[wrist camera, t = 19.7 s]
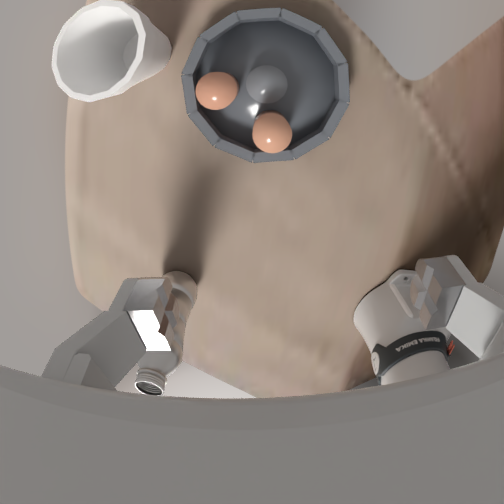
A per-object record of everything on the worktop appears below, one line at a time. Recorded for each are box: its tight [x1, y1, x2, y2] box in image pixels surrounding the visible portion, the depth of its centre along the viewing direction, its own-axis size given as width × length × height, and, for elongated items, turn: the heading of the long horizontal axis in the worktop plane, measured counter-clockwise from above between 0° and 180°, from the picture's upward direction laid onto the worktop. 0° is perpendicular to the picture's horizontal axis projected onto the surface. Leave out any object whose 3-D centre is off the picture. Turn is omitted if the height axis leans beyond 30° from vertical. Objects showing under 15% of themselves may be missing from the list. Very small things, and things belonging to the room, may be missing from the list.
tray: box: [181, 8, 350, 163], centre depth 29 cm, size 18×18×3 cm
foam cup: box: [52, 0, 172, 102], centre depth 23 cm, size 10×9×13 cm
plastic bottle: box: [135, 271, 197, 396], centre depth 39 cm, size 6×7×20 cm
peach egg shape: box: [196, 72, 239, 110], centre depth 28 cm, size 4×4×5 cm
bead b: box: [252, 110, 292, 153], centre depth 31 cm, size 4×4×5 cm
